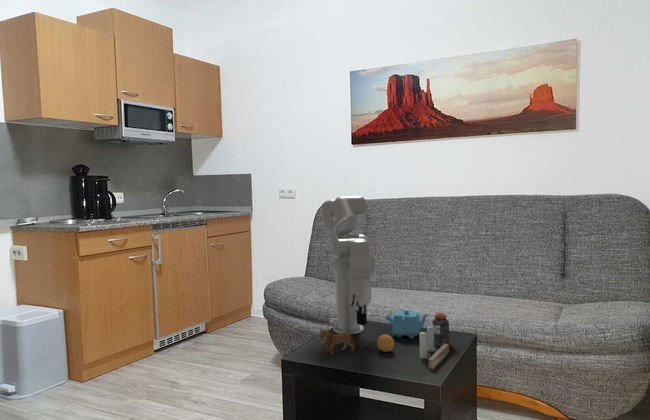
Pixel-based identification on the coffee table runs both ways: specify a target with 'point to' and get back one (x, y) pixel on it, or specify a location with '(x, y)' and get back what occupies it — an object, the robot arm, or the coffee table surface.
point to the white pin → (423, 345)
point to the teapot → (406, 323)
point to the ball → (385, 343)
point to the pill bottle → (441, 329)
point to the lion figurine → (335, 339)
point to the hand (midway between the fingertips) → (361, 324)
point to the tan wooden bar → (438, 356)
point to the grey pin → (430, 338)
